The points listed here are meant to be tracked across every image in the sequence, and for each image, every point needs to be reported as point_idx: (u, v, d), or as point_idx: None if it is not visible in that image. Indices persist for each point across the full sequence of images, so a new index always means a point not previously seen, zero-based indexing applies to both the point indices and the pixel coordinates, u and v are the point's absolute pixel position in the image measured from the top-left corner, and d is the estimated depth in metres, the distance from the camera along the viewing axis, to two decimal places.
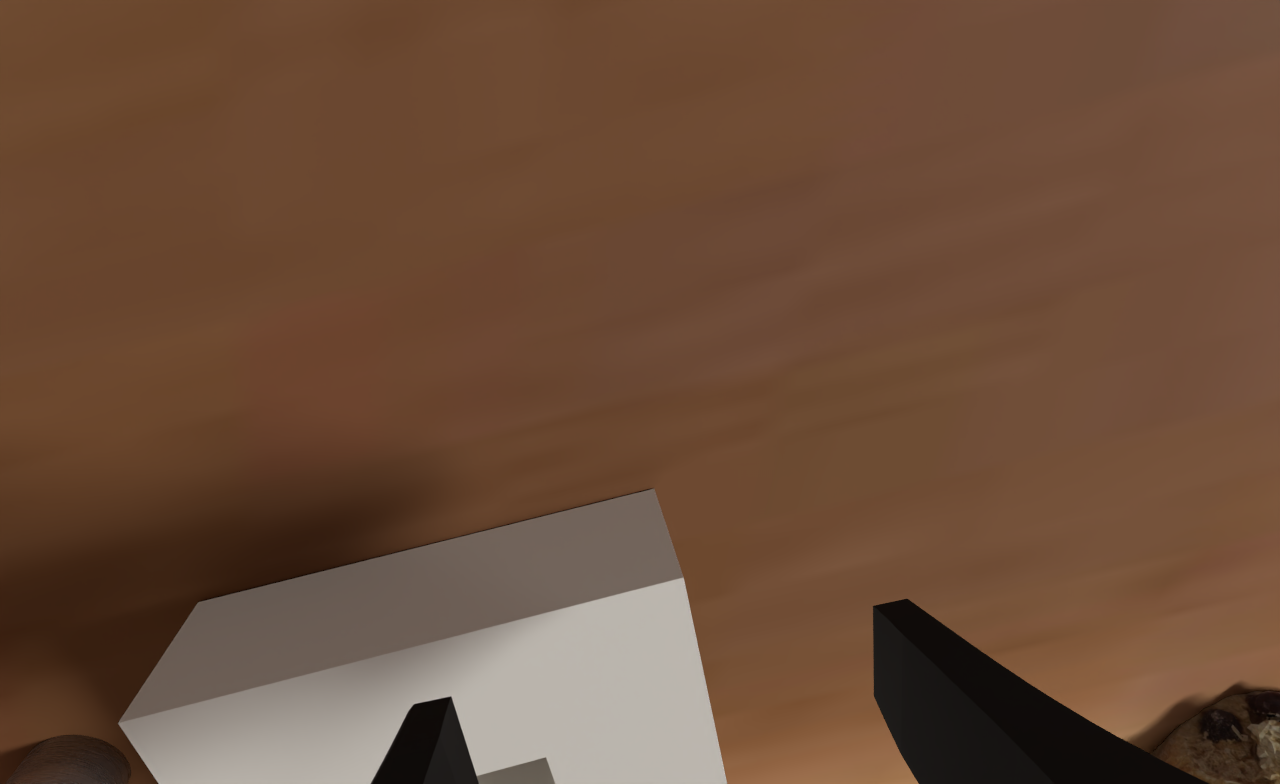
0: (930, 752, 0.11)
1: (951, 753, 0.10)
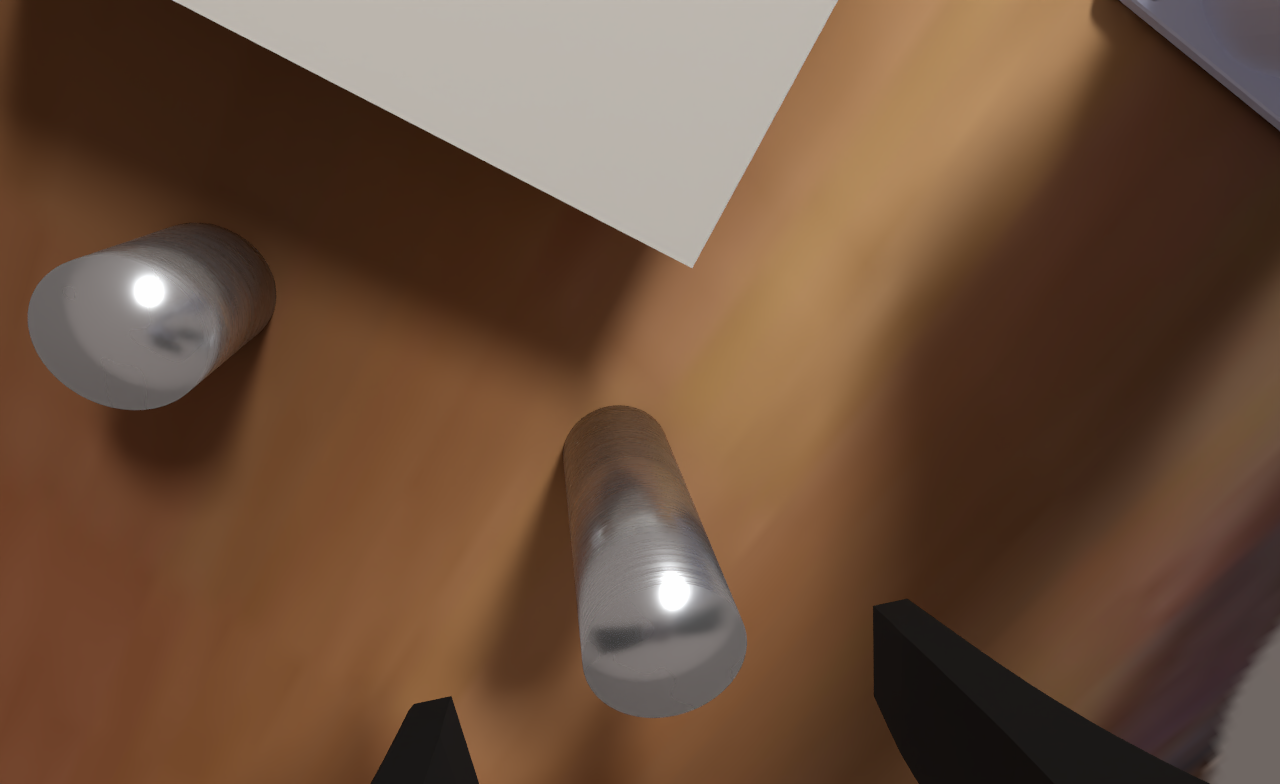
0: (930, 752, 0.11)
1: (951, 753, 0.10)
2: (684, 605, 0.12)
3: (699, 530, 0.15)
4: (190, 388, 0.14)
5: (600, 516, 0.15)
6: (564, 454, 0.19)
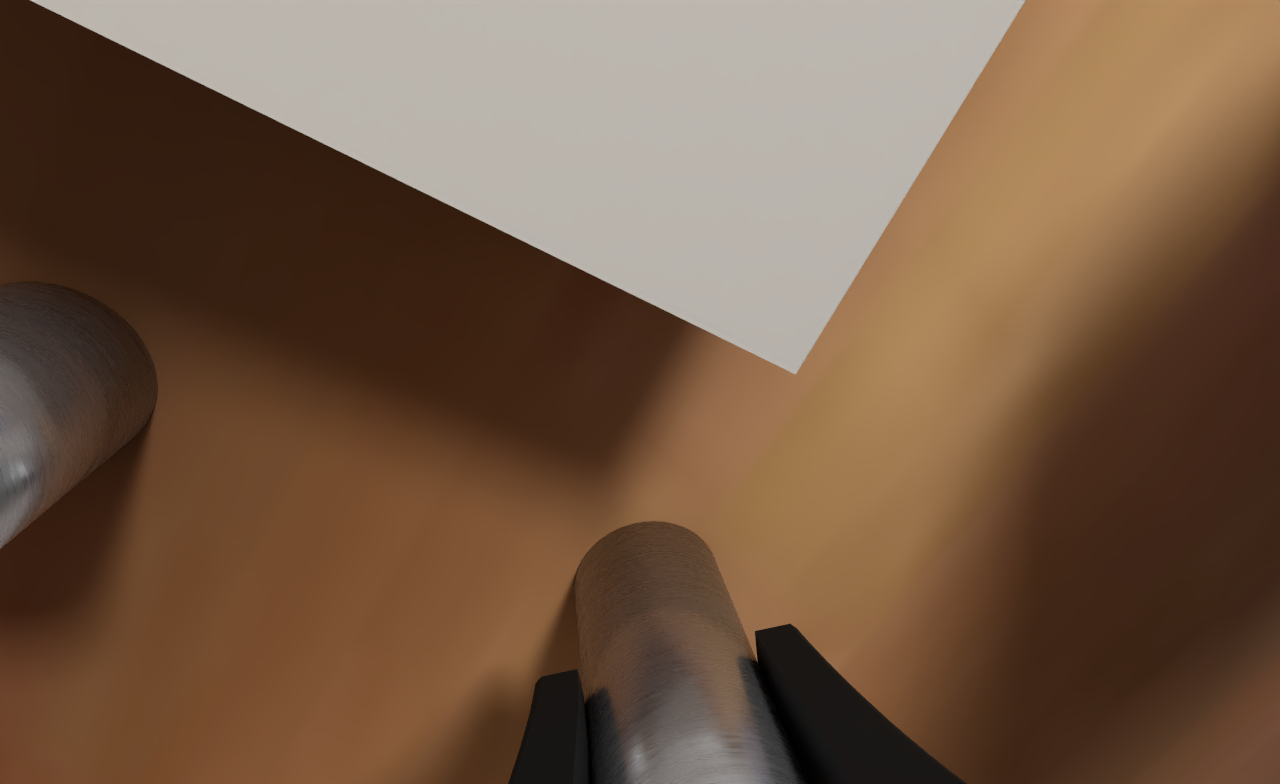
0: None
1: None
2: None
3: (797, 780, 0.09)
4: None
5: (640, 754, 0.09)
6: (576, 590, 0.14)
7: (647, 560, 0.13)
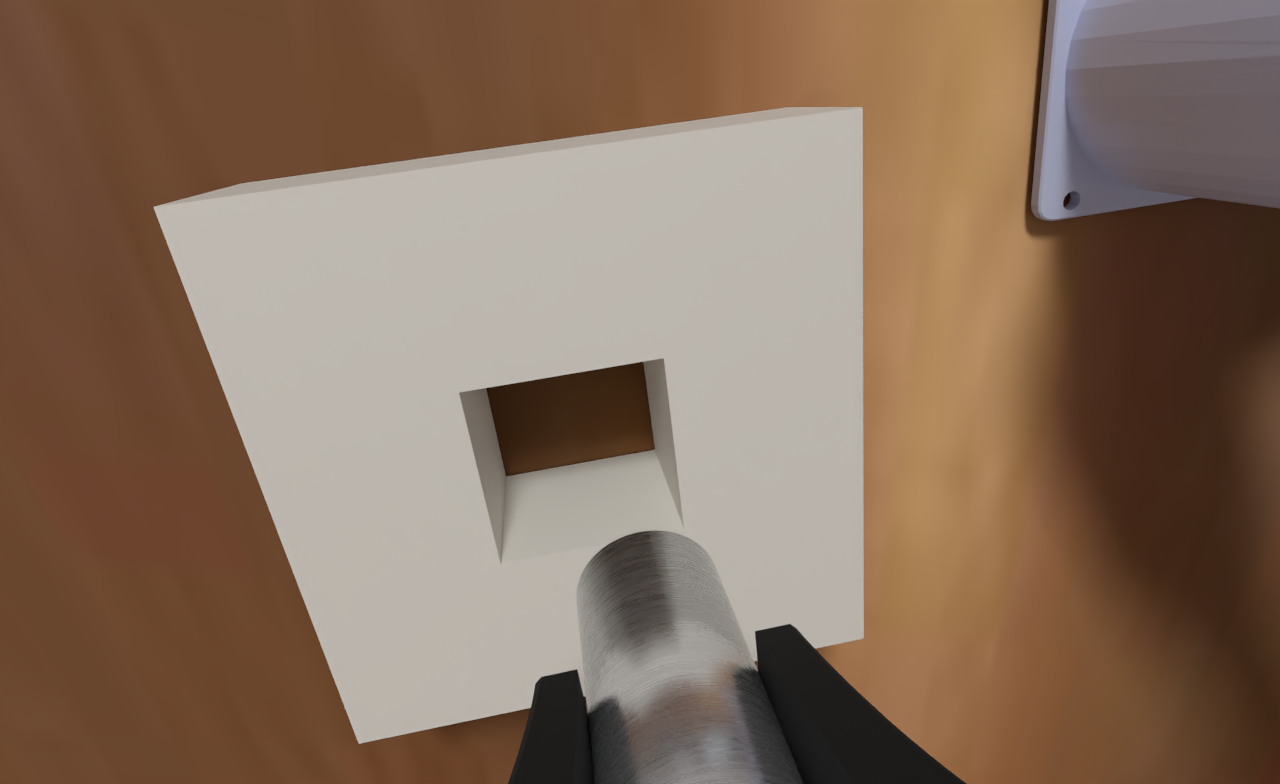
0: None
1: None
2: None
3: None
4: None
5: (632, 773, 0.10)
6: (577, 606, 0.14)
7: (639, 572, 0.13)
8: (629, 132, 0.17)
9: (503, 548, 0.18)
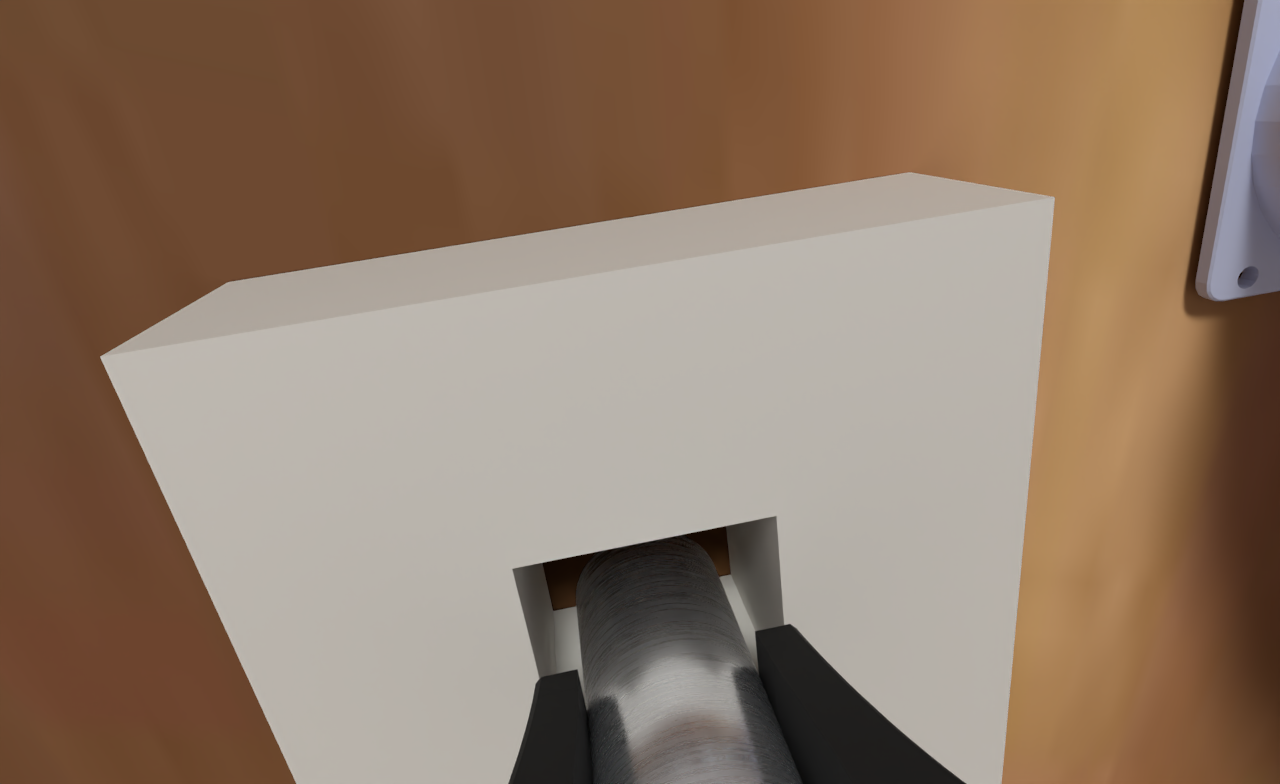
0: None
1: None
2: None
3: None
4: None
5: (631, 773, 0.10)
6: (576, 606, 0.14)
7: (639, 572, 0.13)
8: (722, 216, 0.13)
9: None
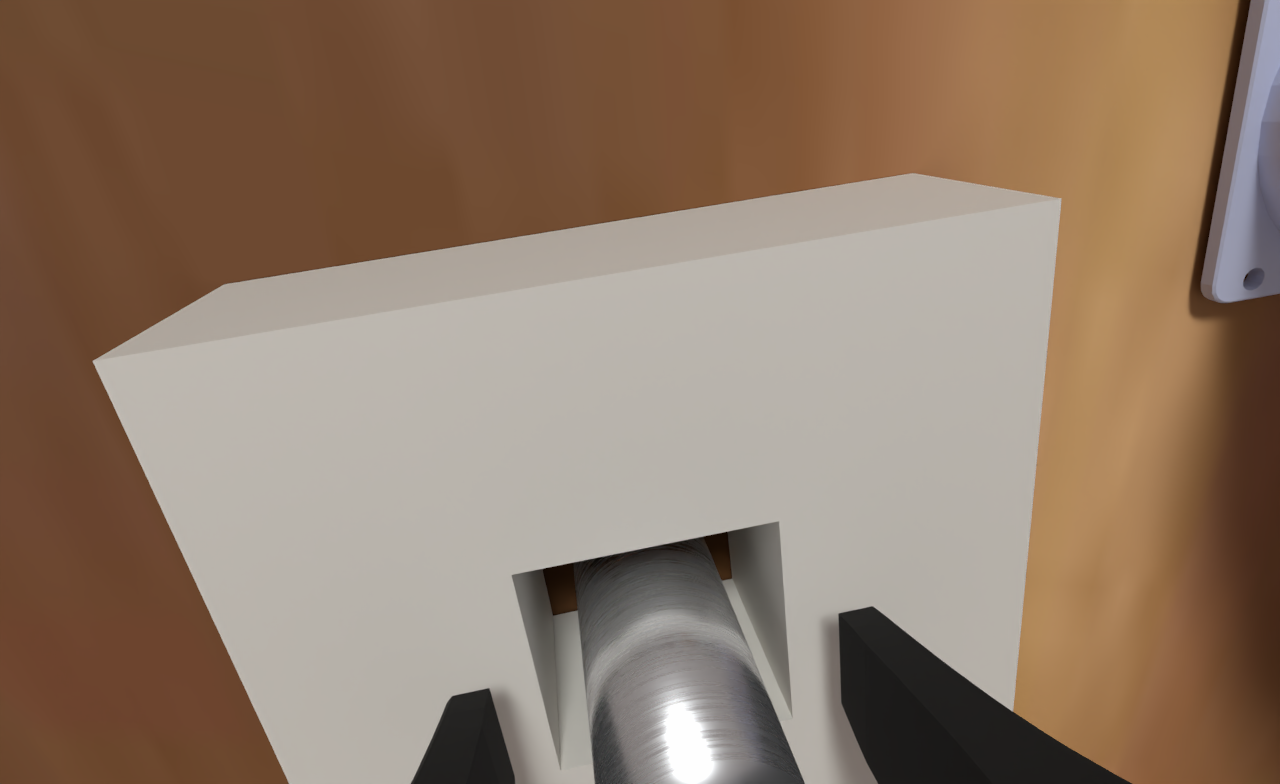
0: (892, 761, 0.11)
1: (910, 762, 0.10)
2: None
3: (738, 651, 0.12)
4: None
5: (612, 643, 0.12)
6: None
7: None
8: (723, 217, 0.13)
9: (560, 741, 0.14)
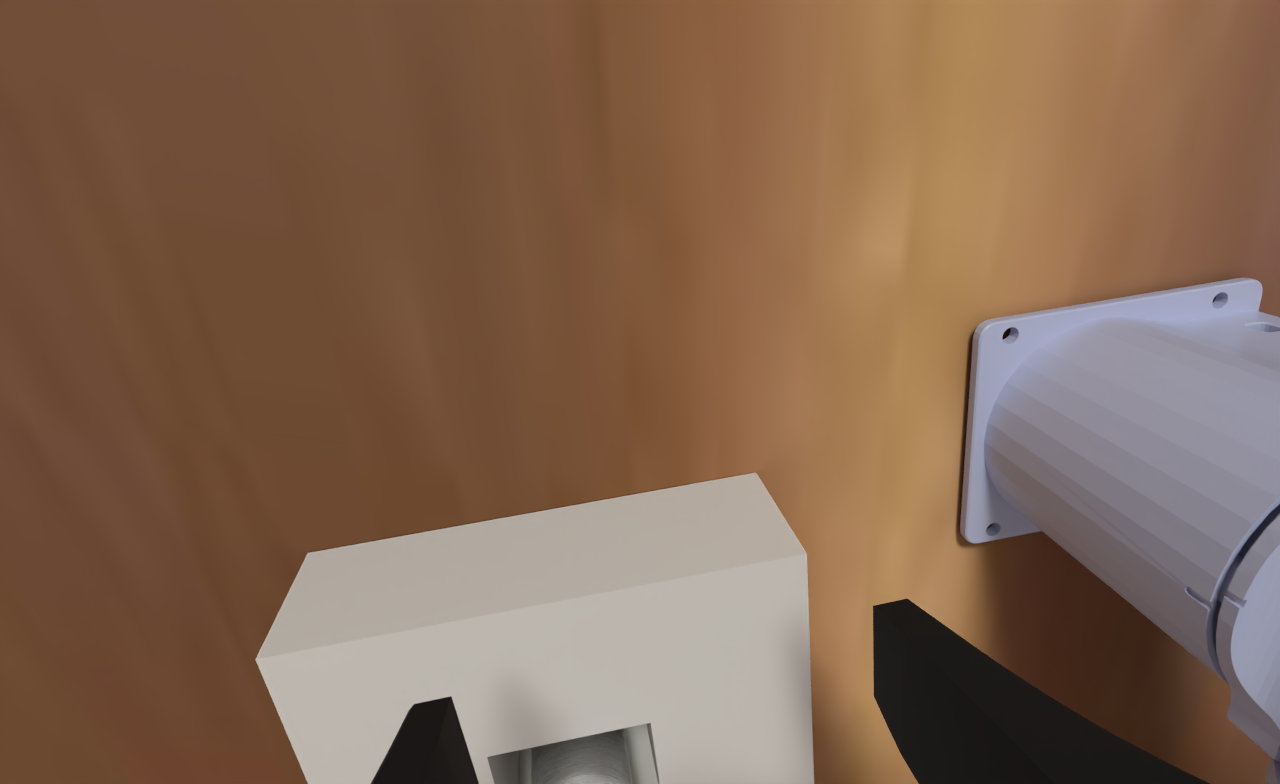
0: (930, 752, 0.11)
1: (951, 753, 0.10)
2: None
3: None
4: None
5: None
6: None
7: None
8: (624, 523, 0.21)
9: None
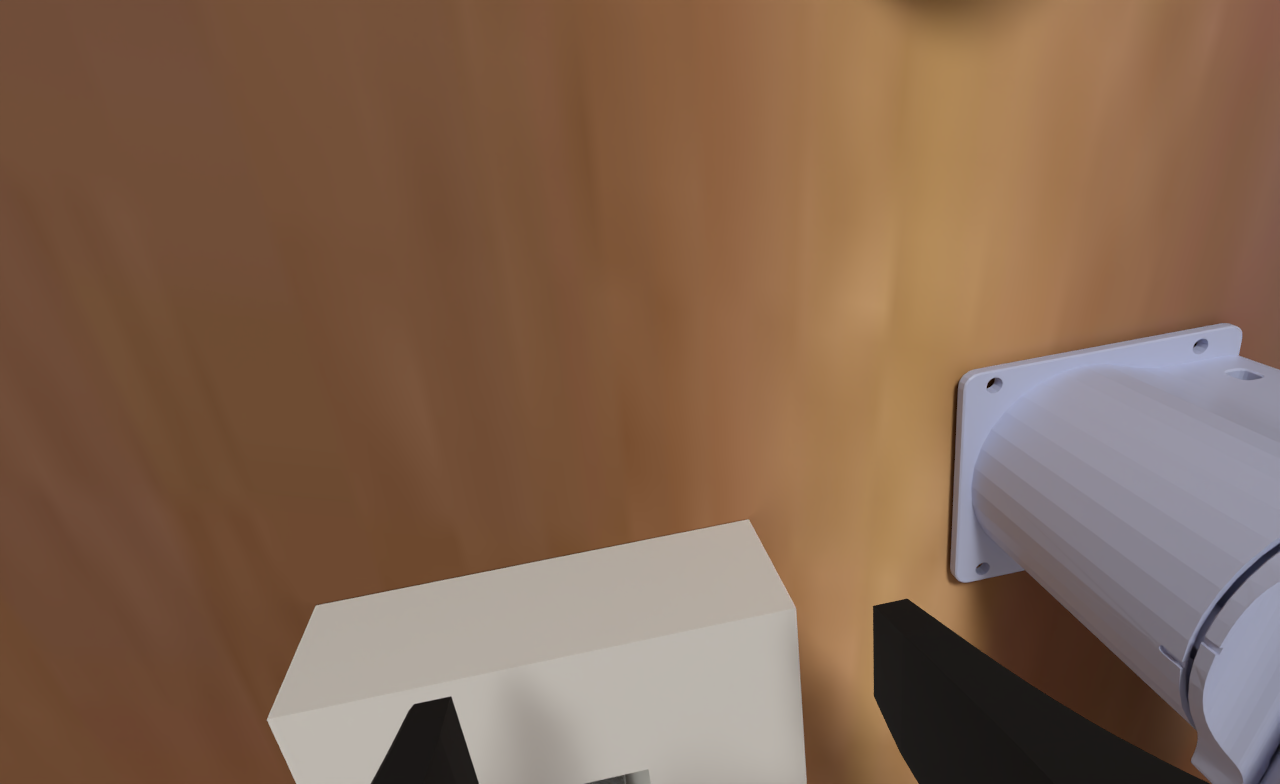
0: (930, 752, 0.11)
1: (951, 753, 0.10)
2: None
3: None
4: None
5: None
6: None
7: None
8: (620, 575, 0.22)
9: None
